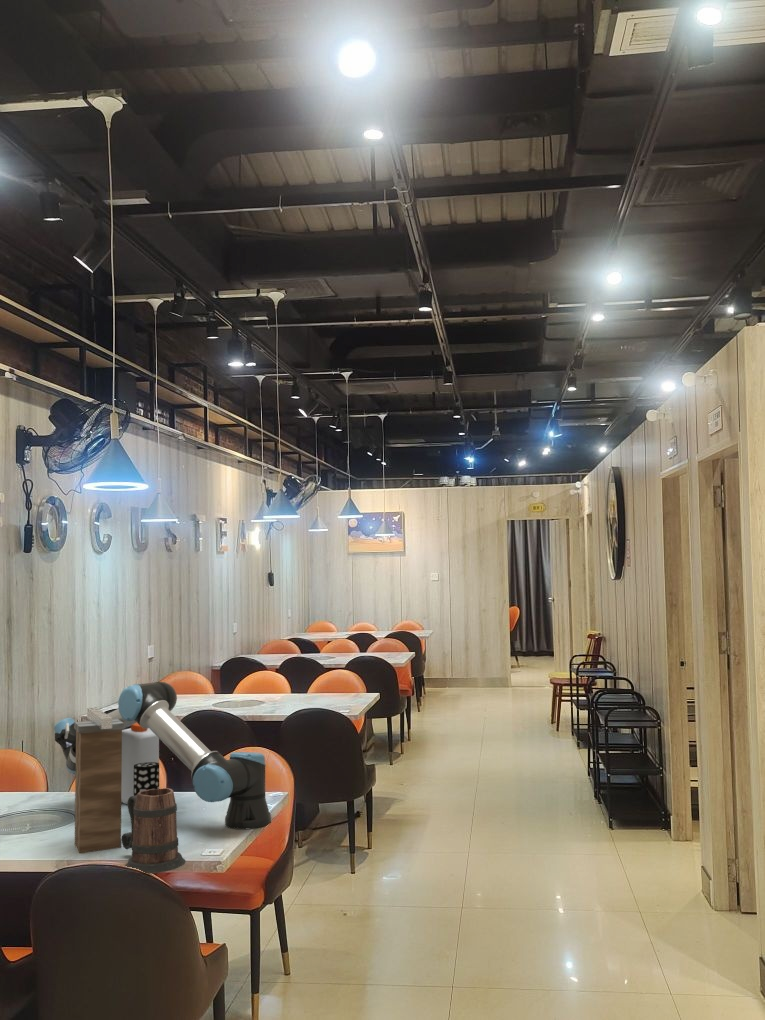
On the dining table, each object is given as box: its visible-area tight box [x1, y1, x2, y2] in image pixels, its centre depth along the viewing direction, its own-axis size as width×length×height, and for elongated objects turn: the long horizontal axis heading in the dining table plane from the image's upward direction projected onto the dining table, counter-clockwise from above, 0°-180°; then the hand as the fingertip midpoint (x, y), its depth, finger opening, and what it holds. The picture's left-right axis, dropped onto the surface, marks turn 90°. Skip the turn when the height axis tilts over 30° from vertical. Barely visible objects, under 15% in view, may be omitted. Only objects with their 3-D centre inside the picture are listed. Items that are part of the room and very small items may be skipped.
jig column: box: [74, 719, 125, 854], centre depth 264 cm, size 13×13×37 cm
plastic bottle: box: [121, 723, 160, 805], centre depth 322 cm, size 15×15×28 cm
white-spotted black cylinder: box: [134, 762, 160, 796], centre depth 284 cm, size 8×8×20 cm
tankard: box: [121, 787, 186, 875], centre depth 244 cm, size 24×17×20 cm
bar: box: [86, 706, 112, 729], centre depth 266 cm, size 32×3×3 cm, turn 26°
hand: (89, 725), depth 284 cm, fingers open, 13 cm apart
